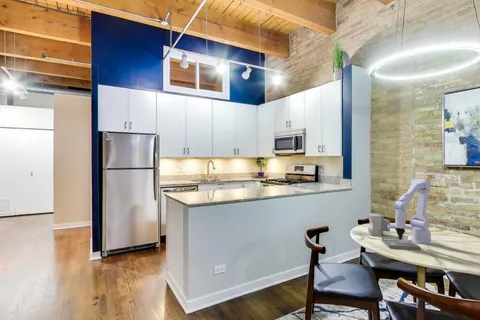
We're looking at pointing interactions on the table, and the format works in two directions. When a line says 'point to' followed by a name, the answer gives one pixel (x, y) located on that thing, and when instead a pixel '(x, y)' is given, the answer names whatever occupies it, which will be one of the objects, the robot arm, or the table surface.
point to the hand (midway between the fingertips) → (399, 239)
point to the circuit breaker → (378, 225)
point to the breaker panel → (401, 244)
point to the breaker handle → (404, 239)
